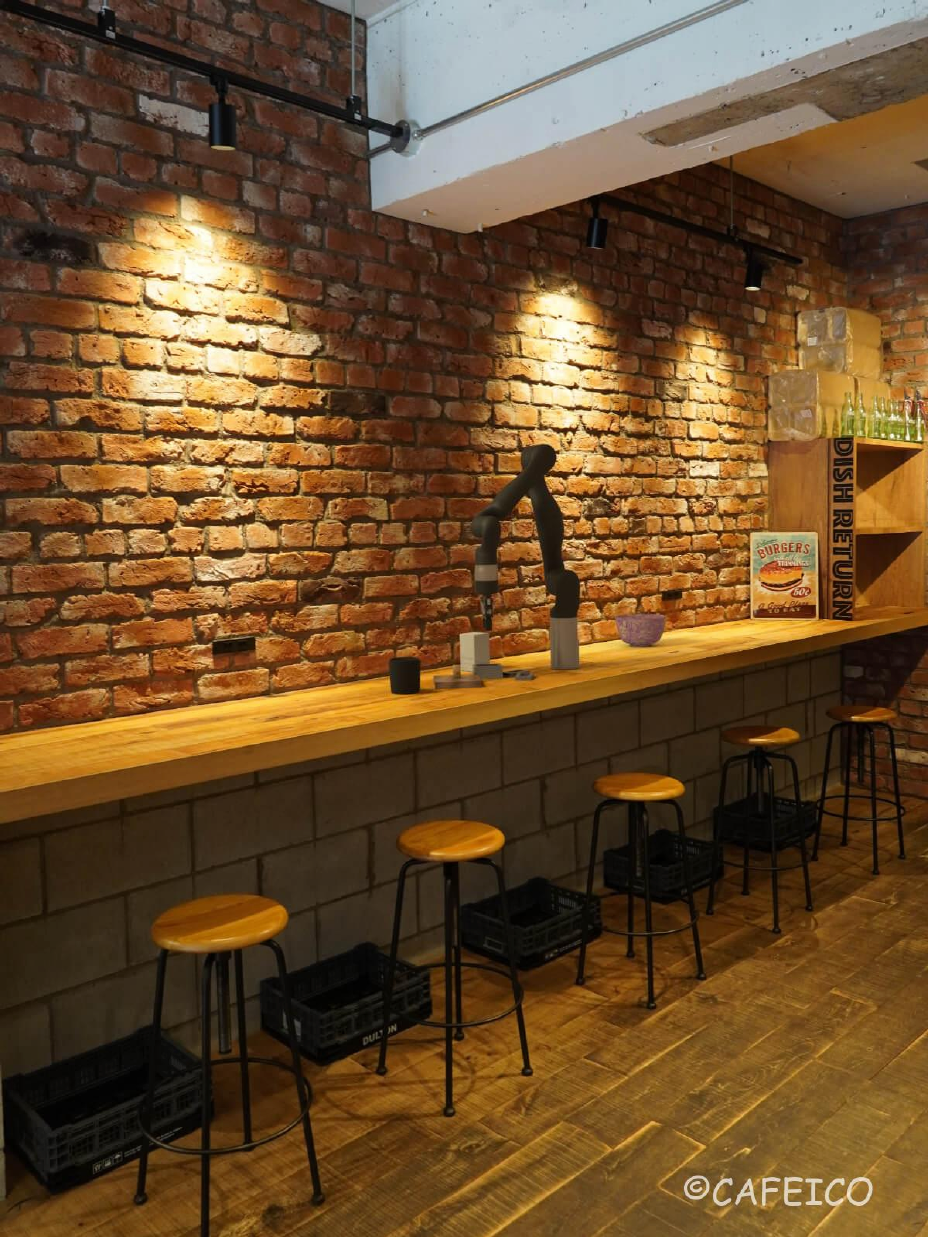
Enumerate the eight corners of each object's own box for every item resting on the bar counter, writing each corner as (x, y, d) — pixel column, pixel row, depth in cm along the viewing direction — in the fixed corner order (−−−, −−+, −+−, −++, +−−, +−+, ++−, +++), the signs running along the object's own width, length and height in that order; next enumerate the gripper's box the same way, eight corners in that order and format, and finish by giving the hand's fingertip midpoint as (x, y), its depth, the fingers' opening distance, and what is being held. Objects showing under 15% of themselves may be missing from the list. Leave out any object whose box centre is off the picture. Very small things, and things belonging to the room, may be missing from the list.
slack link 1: (519, 672, 344) (519, 669, 343) (529, 674, 340) (529, 670, 340) (501, 675, 339) (501, 671, 338) (511, 677, 335) (511, 673, 335)
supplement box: (490, 670, 352) (490, 632, 351) (474, 672, 347) (473, 634, 346) (476, 668, 357) (475, 631, 356) (459, 670, 353) (458, 633, 351)
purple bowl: (611, 648, 402) (610, 618, 401) (619, 642, 421) (618, 614, 420) (663, 649, 396) (663, 618, 395) (669, 643, 415) (669, 614, 414)
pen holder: (427, 691, 311) (426, 657, 310) (408, 695, 303) (407, 661, 303) (402, 688, 316) (401, 656, 316) (383, 693, 309) (382, 659, 308)
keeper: (477, 680, 329) (477, 661, 329) (481, 687, 315) (481, 667, 315) (433, 682, 328) (433, 663, 328) (435, 688, 315) (434, 669, 314)
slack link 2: (518, 676, 336) (518, 672, 336) (534, 676, 335) (534, 672, 335) (515, 680, 328) (515, 676, 328) (530, 680, 327) (530, 676, 327)
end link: (500, 675, 339) (499, 663, 338) (502, 678, 333) (502, 665, 332) (472, 676, 338) (472, 664, 338) (474, 679, 332) (474, 666, 332)
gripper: (500, 579, 326) (501, 631, 327) (496, 577, 340) (497, 627, 342) (476, 580, 325) (477, 632, 327) (473, 578, 340) (474, 627, 341)
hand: (487, 629), depth 334 cm, fingers open, 8 cm apart
